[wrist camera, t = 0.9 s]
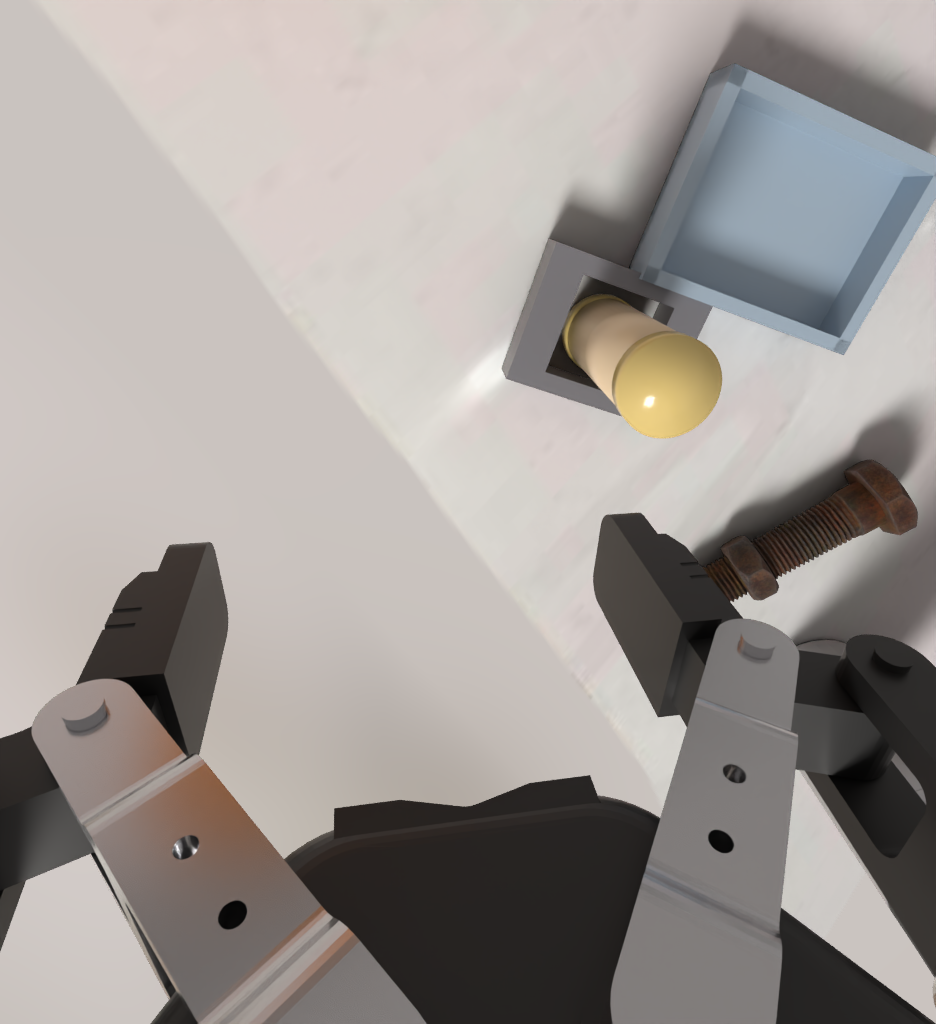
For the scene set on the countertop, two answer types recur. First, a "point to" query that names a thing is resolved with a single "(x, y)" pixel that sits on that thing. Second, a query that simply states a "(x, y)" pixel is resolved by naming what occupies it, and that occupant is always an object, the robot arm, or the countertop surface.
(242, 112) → the countertop surface
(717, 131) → the parts tray
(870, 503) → the bolt
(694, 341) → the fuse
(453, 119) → the countertop surface
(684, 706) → the robot arm
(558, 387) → the fuse holder
